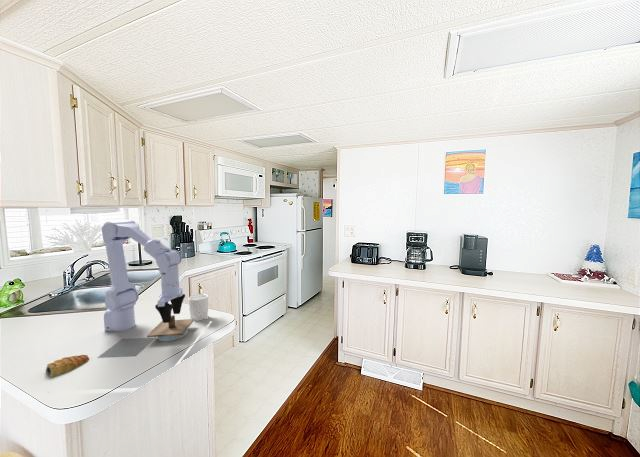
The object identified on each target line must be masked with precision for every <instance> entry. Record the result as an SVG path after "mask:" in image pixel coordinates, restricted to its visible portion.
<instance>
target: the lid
mask: <svg viewBox="0 0 640 457" xmlns="http://www.w3.org/2000/svg"><path fill="white" fill-rule="evenodd" d="M193 322H194V319H191V318H186V319H185V318H184V319H176V317H175V314H173V315H172V314H171V320H170V322H169V323H163V320H161V322H159V323H158V324H157V325H156V326H155V327H154V328H153V329H152V330H151V331H150V332H149V333H148V334H147V335H146V338H155V337H156V338H158V337H160V336H173V335H183V334H184V333H185V331H186V330H187V329H188V330H189V328H190V326H191V325H192V324H193Z"/></svg>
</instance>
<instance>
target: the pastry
mask: <svg viewBox="0 0 640 457" xmlns="http://www.w3.org/2000/svg"><path fill="white" fill-rule="evenodd" d="M89 360H90V358H89V356H88V355H87V354H80V355H74V356H73V355H72V356H71V355H70V356H67V357H66V356H65V357H62V358H61V359H56V360H54V361H53V362H50V363H48V364H46V365H47V366H46V367H45V368H46V369H45V372H47V373H49V374H50V375H49V377H50V378H53V377H57V376H60V375H64V374H66V373H68V372H70V371H73V370H74V369H76V368H78V367H80V366H82V365H84V364H86V363H87V362H88V361H89Z"/></svg>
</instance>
